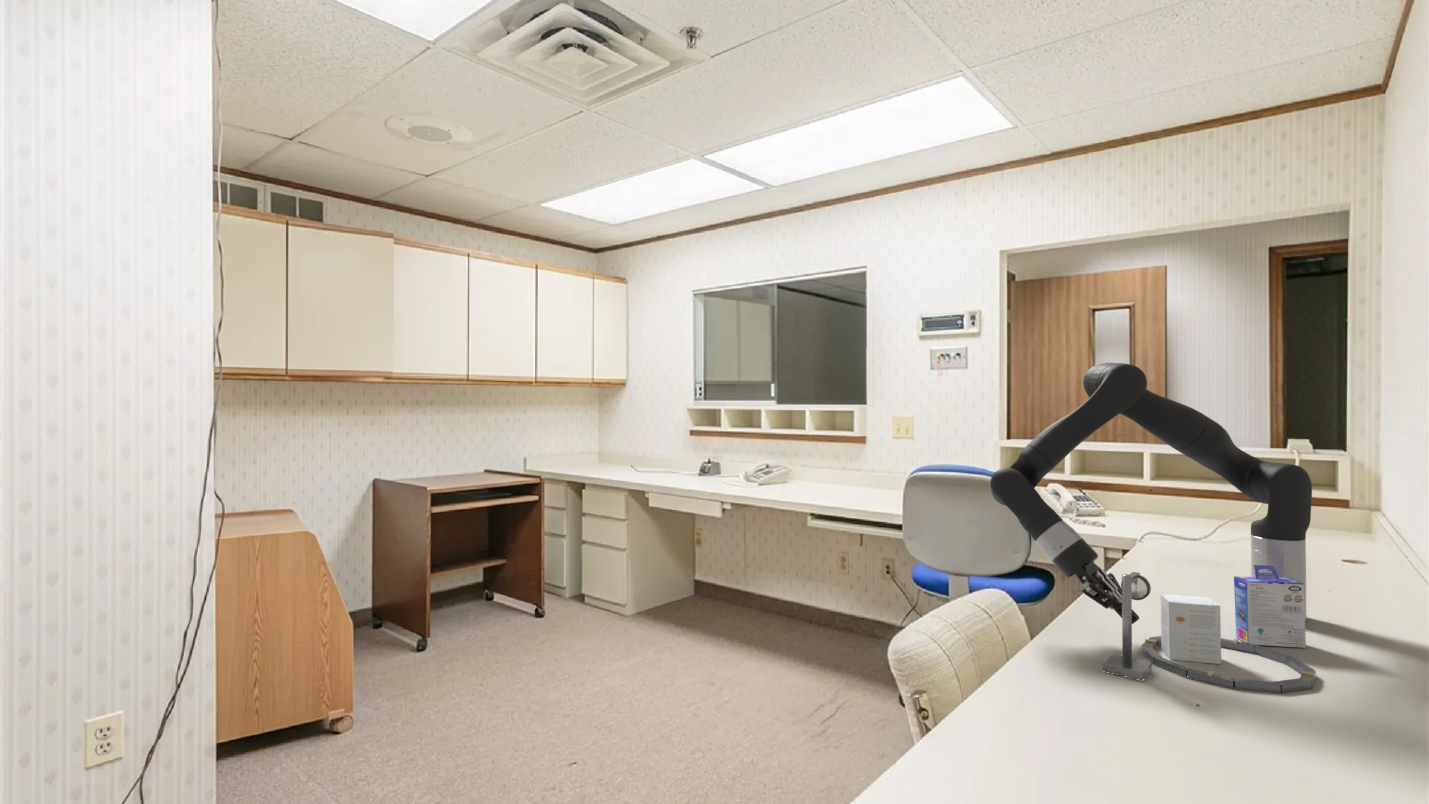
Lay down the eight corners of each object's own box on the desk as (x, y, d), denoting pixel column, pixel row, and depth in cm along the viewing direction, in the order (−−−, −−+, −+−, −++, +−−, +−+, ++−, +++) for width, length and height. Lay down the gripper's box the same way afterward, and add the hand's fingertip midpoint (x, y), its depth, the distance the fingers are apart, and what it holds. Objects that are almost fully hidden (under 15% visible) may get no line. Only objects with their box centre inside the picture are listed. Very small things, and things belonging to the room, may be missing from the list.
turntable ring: (1162, 632, 139) (1162, 625, 139) (1321, 664, 122) (1321, 655, 122) (1127, 664, 122) (1127, 655, 122) (1306, 705, 105) (1306, 695, 105)
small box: (1210, 654, 127) (1210, 597, 127) (1222, 665, 121) (1221, 605, 122) (1160, 649, 129) (1159, 593, 129) (1169, 659, 124) (1168, 601, 124)
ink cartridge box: (1290, 639, 135) (1289, 565, 135) (1308, 649, 129) (1307, 571, 129) (1232, 636, 137) (1232, 563, 137) (1248, 645, 131) (1247, 569, 131)
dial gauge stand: (1118, 658, 125) (1117, 566, 125) (1156, 667, 120) (1155, 572, 121) (1102, 671, 118) (1101, 575, 119) (1142, 681, 114) (1141, 581, 114)
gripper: (1068, 541, 134) (1141, 618, 125) (1090, 533, 143) (1159, 604, 134) (1040, 564, 138) (1108, 641, 129) (1063, 554, 147) (1129, 625, 138)
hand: (1134, 622), depth 132 cm, fingers closed
